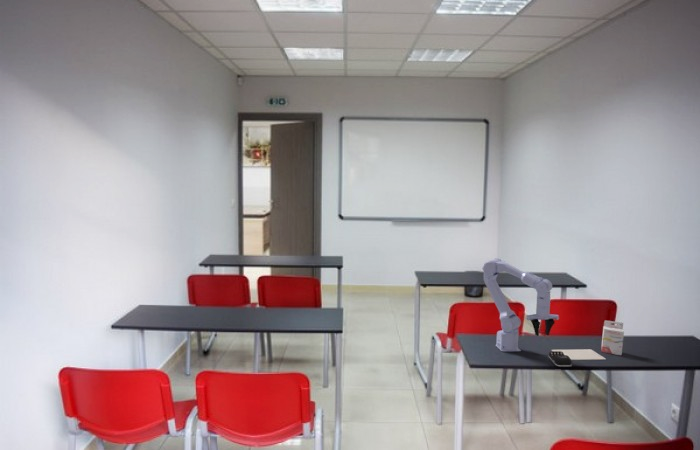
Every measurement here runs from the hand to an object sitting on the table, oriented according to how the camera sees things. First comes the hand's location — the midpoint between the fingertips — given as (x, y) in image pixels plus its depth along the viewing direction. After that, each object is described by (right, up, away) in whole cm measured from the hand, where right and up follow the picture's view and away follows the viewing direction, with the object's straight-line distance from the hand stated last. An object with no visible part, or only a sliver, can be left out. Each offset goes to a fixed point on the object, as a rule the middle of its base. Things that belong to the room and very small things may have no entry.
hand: (541, 334), depth 222 cm
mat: (+19, -10, +4) cm, 22 cm away
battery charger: (+6, -9, 0) cm, 10 cm away
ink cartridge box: (+37, -11, +9) cm, 39 cm away
